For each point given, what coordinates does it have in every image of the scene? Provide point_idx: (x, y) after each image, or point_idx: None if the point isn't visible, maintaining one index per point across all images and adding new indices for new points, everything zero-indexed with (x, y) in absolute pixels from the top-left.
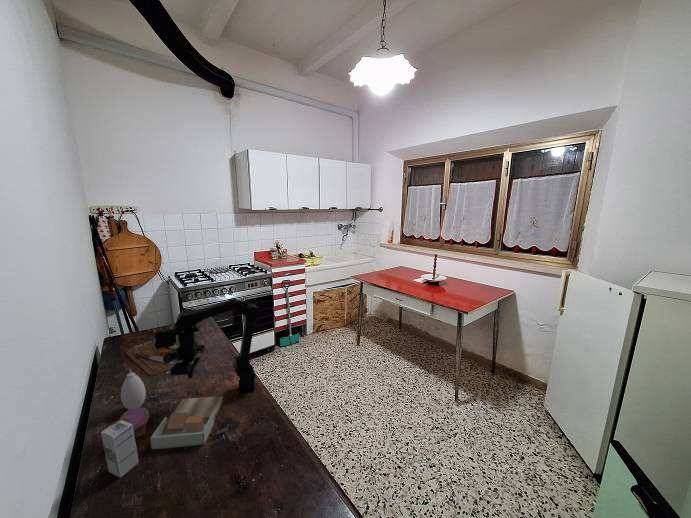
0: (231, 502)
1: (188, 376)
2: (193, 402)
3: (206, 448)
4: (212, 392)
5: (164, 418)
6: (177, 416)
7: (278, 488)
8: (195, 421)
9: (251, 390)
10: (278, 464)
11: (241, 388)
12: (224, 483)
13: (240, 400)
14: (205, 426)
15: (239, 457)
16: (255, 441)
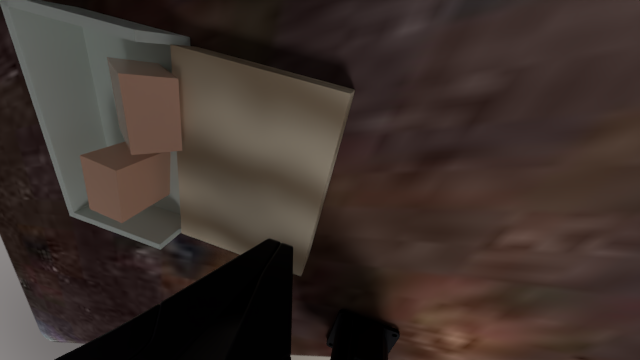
0: (11, 233)
1: (243, 256)
2: (292, 160)
3: None
4: (399, 225)
5: (122, 28)
6: (121, 111)
7: (50, 293)
8: (91, 197)
9: (330, 340)
10: (88, 306)
11: (351, 325)
12: (36, 226)
13: (294, 300)
14: (96, 222)
15: (92, 258)
16: (133, 292)
